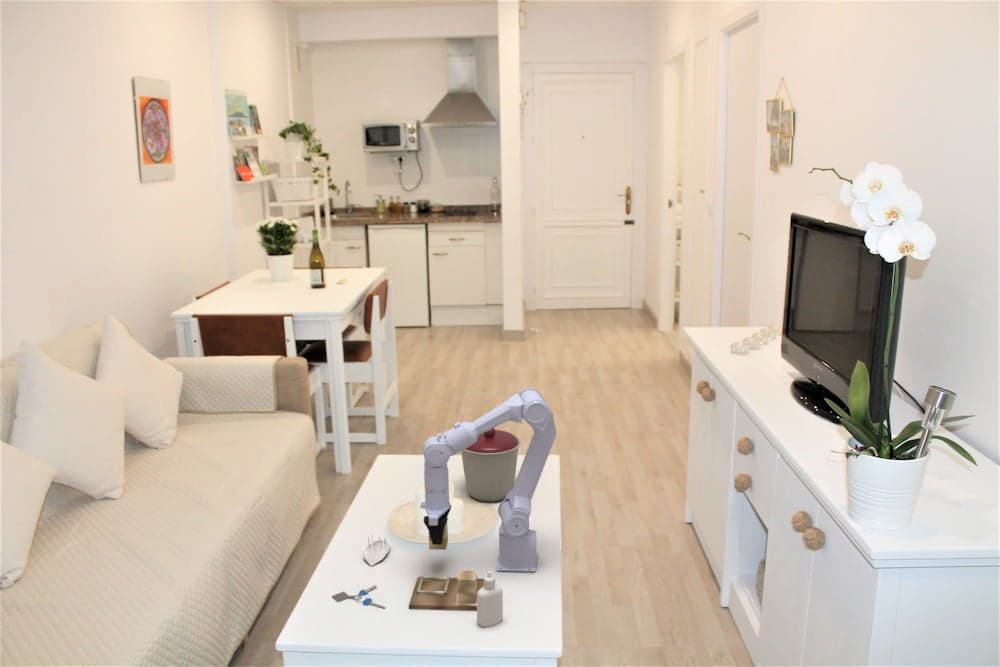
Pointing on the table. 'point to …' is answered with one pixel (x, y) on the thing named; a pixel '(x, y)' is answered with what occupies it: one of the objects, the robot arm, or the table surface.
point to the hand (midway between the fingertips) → (438, 539)
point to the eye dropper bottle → (489, 603)
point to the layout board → (447, 592)
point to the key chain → (367, 601)
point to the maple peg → (444, 541)
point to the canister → (491, 465)
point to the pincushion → (376, 551)
